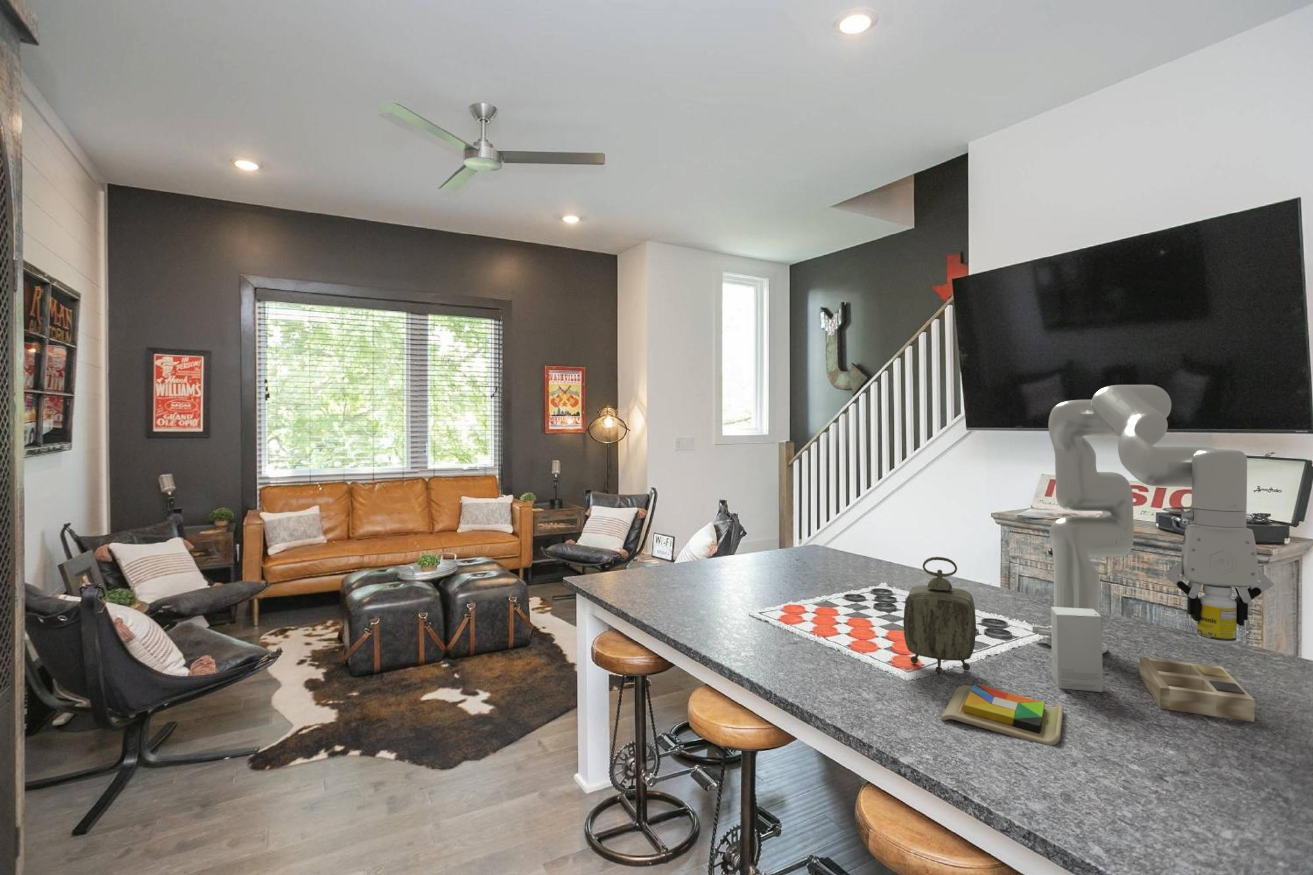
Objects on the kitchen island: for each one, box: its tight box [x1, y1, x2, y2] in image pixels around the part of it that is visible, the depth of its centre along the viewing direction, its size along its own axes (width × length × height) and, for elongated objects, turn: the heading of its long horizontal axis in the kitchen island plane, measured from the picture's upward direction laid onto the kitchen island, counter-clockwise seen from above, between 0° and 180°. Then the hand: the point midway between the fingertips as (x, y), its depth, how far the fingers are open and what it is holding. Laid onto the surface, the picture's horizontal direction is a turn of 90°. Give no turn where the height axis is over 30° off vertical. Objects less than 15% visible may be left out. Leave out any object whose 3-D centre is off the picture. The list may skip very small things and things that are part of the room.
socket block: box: [1139, 656, 1256, 723], centre depth 135 cm, size 14×19×4 cm
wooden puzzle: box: [940, 683, 1064, 746], centre depth 127 cm, size 18×19×4 cm
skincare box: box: [1050, 606, 1104, 693], centre depth 141 cm, size 8×7×16 cm
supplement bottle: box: [1196, 584, 1238, 645], centre depth 121 cm, size 5×5×10 cm
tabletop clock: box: [902, 556, 977, 675], centre depth 150 cm, size 14×9×25 cm, turn 65°
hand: (1216, 620), depth 121 cm, fingers closed on supplement bottle, 5 cm apart
